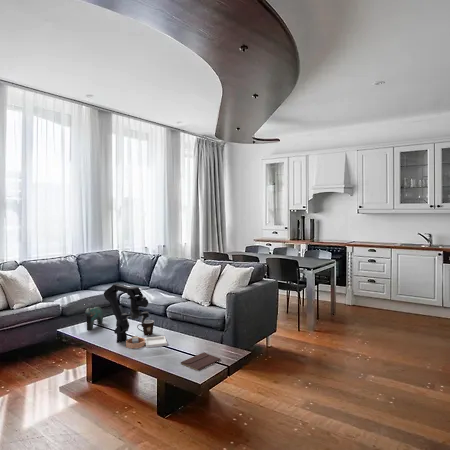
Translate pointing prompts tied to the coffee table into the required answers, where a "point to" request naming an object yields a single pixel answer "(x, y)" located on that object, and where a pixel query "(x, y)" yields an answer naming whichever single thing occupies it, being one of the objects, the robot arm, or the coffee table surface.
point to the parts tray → (155, 341)
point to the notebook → (200, 361)
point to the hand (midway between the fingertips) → (135, 327)
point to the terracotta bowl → (135, 345)
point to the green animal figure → (94, 316)
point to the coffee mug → (147, 327)
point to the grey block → (135, 341)
